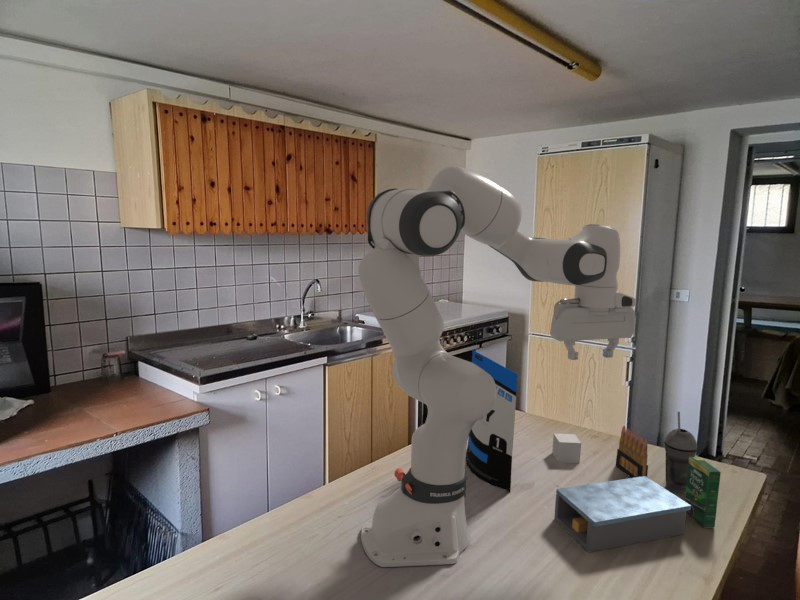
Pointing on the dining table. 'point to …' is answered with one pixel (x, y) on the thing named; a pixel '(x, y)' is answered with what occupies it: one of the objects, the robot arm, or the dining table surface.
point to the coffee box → (702, 491)
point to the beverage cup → (678, 457)
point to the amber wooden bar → (580, 524)
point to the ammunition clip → (632, 454)
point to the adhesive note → (566, 448)
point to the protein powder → (494, 429)
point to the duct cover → (621, 500)
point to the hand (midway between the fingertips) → (590, 358)
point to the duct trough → (619, 528)
